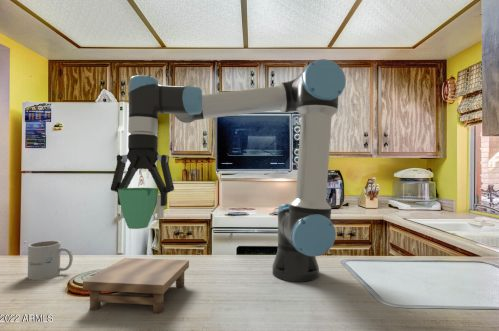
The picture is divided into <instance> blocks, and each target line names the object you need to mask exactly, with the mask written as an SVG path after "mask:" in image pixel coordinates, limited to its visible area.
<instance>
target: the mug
mask: <svg viewBox="0 0 499 331" xmlns="http://www.w3.org/2000/svg"><path fill="white" fill-rule="evenodd" d="M61 243H62V242H61V241H60V240H44V241H36V242H33V243H29V244H28V246H27V279H28V278H29V279H28V280H30V279H32V280H31V281H43V280H48V279H52V278H55V277H57V276H59V275H60V274H61V272H64V271H65V272H66V271H67V270H69V269H70V268H71V266H72V264H73V259H74V258H73V256H74V255H73V253H72V250H71V249H70V248H68V247H61V245H62V244H61ZM61 252H66V253H67V254H68V257H69V259H68V260H69V262H68V265H66V266H65V267H62V266H61ZM42 279H43V280H42Z"/></svg>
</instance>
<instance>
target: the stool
mask: <svg viewBox="0 0 499 331" xmlns="http://www.w3.org/2000/svg"><path fill="white" fill-rule="evenodd" d="M189 267H190V260H187V259H165V258H163V259H162V258H142V257H141V258H139V257H136V258H135V257H134V258H133V257H124V258H122V259H120V260H118V261H117V262H115V263H113V264H112V265H110V266H108V267H106V268H104V269H102V270H100V271H99V272H97V273H95V274H94V275H92V276H90V277H88V278H87V279H85V280H82V290H84V291H89V310H92V311H93V310H99V309H101V306H102V305H101V303H111V304H116V303H117V304H134V305H150V306H151V305H152V313H153V314H161V313H163V312H164V296H165V293H166V292H167V291H168V290H169V289H170V287H172V286H173V284H174V283H175V288H178V289H179V288H180V289H182V288H184V287H185V272H186V270H188V269H189ZM102 291H103V292H104V293H102ZM105 292H116V293H105ZM117 292H122V293H139V294H122V293H121V294H120V293H117ZM141 294H144V295H141ZM145 294H152V295H145Z"/></svg>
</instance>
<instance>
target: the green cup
mask: <svg viewBox="0 0 499 331" xmlns="http://www.w3.org/2000/svg"><path fill="white" fill-rule="evenodd" d="M158 192H159V189H158V187H157V188H156V187H128V188H122V189H118V193H117V195H118V194H119V199H120V204H121V205H120V210H121V209H122V212H123V216H124V218H123V219H124V221H125V223H126V226H127V228H128V229H129V230H130V229H132V230H140V229H146V228H148V227H149V225H150V223H151V219H152V216H153V215H154V212H155V209H156V208H157V194H159V193H158Z"/></svg>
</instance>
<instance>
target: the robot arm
mask: <svg viewBox="0 0 499 331" xmlns="http://www.w3.org/2000/svg"><path fill="white" fill-rule="evenodd" d="M346 81H347V80H346V75H345V72H344V71H343V69H342V67H340V66H339V64H337V63H336V62H335V61H332V60H331V59H323V58H322V59H316V60H314V61H312V62H311V63H309V64H307V65H306V66H305V68H304V69H303V70H302V72H301V73H300V74H299V75H298V76H297V77H296V78H294V79H292V80H290V81H285V82H283V81H282V82H279V84H278V85H277V86H270V87H269V86H268V87H260V88H251V89H241V90H233V91H227V92H224V91H223V92H217V93H207V94H203V90H202V88H200V87H199V86H190V85H186V86H185V85H183V86H182V85H162V84H159V80H158V79H157V78H156V77H154V76H150V75H144V74H137V75H133V76H131V78H130V79H129V86H128V87H129V88H128V123H127V124H128V130H127V132H128V133H129V135H128V136H127V137H128V139H127V145H128V146H127V148H128V152H127V154H117V155H116V166H115V170H114V174H113V178H112V182H111V186H110V190H111V191H112V192H116V193H117V205H118V206H121V204H120V199H119V194H118V189H122V188H129V185H130V184H131V181H132V180H133V178H134V176H135V174H136V173H137V171H138V170H142V169H143V170H148V172H149V173H150V175H151V177H152V178H153V181H154V183H155V185H156V187H157V189H158V192H159V193H158V194H157V204H156V219H157V220H161V219H163V218H164V217H165V213H164V211H165V210H164V208H165V207H166V206H167V205H168V194H169V193H171V192H174V191H175V187H174V181H173V177H172V172H171V169H170V166H169V163H170V156H169V155H167V154H162V155H161V154H159V153H158V144H159V143H158V141H159V140H158V136H157V134H158V133H159V132H158V130H159V129H158V127H159V126H158V125H159V124H158V120H159V114H166V115H167V114H169V115H174V117H175V118H176V119H177V121H179V122H182V123H184V124H188V123H189V124H191V123H193V122H195V121H198V120H204V119H205V120H206V119H215V118H221V117H231V116H236V115H237V116H239V115H246V114H249V115H250V114H256V113H262V112H263V113H264V112H273V111H280V112H282V113H290V112H292V113H293V112H297V113H298V114H299V115H300V128H299V129H300V130H299V143H298V158H297V160H298V161H297V174H296V189H295V198H294V200H292V201H291V202H290V203H281V204H279V206H278V209H277V252H276V254H275V257H274V261H273V264H272V267H271V268H272V272H271V273H272V275H273V276H274V277H276V278H277V279H280V280H283V281H289V282H297V283H298V282H310V281H314V280H316V279H319V276H320V267H319V264H318V260H317V258H316V257H318V256H323V255H325V253H327V252H328V251H329V250H330V249H332V247H333V245H334V243H335V241H336V236H337V234H336V228H335V225H334V224H333V222H332V220H331V218H332V206H331V205H330V204H329V202H327V194H328V193H327V192H328V176H329V162H330V148H331V147H330V146H331V131H332V120H333V119H332V118H333V116H334V115H335V114H336V113H338V111H339V110H338V109H339V97H340V96H341V95H342V93H343V92H344V90H345V88H346ZM128 161H129V165H128V167H127V171H126V173H125V175H124V171H125V169H126V164H127V162H128ZM157 161H159V163H160V168H161V171H162V176H163V178H162V176H161V174H160V172H159V169H158V167H157V165H156V163H157ZM123 176H124V177H123ZM119 217H120V219H124V216H123V212H122V209H121V208H120V216H119Z"/></svg>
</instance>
